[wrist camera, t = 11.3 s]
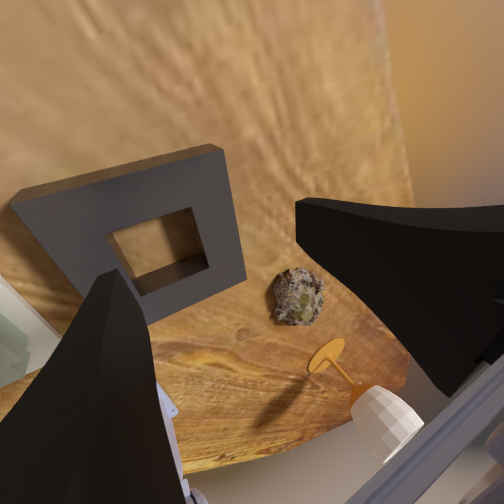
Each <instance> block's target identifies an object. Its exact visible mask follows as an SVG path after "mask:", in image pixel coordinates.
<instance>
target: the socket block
mask: <svg viewBox="0 0 504 504" xmlns="http://www.w3.org/2000/svg"><path fill="white" fill-rule="evenodd" d="M9 205H10V207H11V208H12V209H13V210H14V212H15V213H16V214H17V215H18V217H19V218H20V219H21V220H22V222H23V223H24V224H25V225H26V227H27V228H28V229H29V230H30V232H31V233H32V234H33V236H34V237H35V238H36V239H37V241H38V242H39V243H40V244H41V246H42V247H43V248H44V249H45V251H46V252H47V253H48V254H49V256H50V257H51V258H52V259H53V261H54V262H55V263H56V265H57V266H58V267H59V268H60V270H61V271H62V272H63V273H64V275H65V276H66V277H67V278H68V280H69V281H70V282H71V283H72V285H73V286H74V287H75V288H76V290H77V291H78V292H79V294H80V295H81V296H82V297H83V299H84V300H85V298H86V296H87V294H88V293H89V291H90V289H91V287H92V285H93V283H94V281H95V280H96V278H97V276H99V275H101V274H104V273H107V272H109V271H112V270H115V269H117V268H118V270H119V272H120V273H121V275H122V277H123V278H124V280H125V282H126V283H127V285H128V287H129V288H130V290H131V292H132V293H133V295H134V297H135V298H136V300H137V302H138V303H139V305H140V307H141V308H142V311H143V314H144V317H145V321H146V324H147V326H148V325H150V324H152V323H154V322H156V321H159V320H161V319H163V318H165V317H167V316H169V315H172V314H174V313H176V312H178V311H180V310H182V309H184V308H187V307H189V306H191V305H193V304H195V303H197V302H200V301H202V300H204V299H206V298H208V297H210V296H213V295H215V294H217V293H219V292H221V291H223V290H225V289H228V288H230V287H232V286H234V285H236V284H238V283H241V282H243V281H245V280H247V276H246V271H245V265H244V260H243V254H242V249H241V243H240V238H239V232H238V227H237V221H236V216H235V210H234V205H233V199H232V194H231V188H230V183H229V177H228V172H227V166H226V161H225V155H224V150H223V149H222V148H219V147H217V146H215V145H212V144H210V143H209V144H205V145H201V146H197V147H193V148H189V149H185V150H181V151H177V152H173V153H169V154H165V155H160V156H156V157H152V158H148V159H144V160H140V161H136V162H132V163H128V164H124V165H120V166H116V167H111V168H107V169H103V170H99V171H95V172H91V173H87V174H83V175H79V176H75V177H71V178H67V179H63V180H58V181H54V182H50V183H46V184H42V185H38V186H34V187H30V188H26V189H22V190H20V191H19V193H18V194H17V195H16V196H15V198H14V199H13V200H12V202H11V203H10V204H9ZM185 208H186V210H187V213H188V216H189V219H190V223H191V226H192V229H193V232H194V235H195V239H196V242H197V245H198V248H199V251H200V253H198V254H196V255H193V256H191V257H188V258H186V259H183V260H180V261H178V262H175V263H173V264H170V265H168V266H165V267H163V268H160V269H158V270H155V271H153V272H150V273H148V274H145V275H143V276H140V277H138V278H136V276H135V274H134V273H133V271H132V269H131V267H130V265H129V264H128V262H127V260H126V258H125V256H124V255H123V253H122V251H121V249H120V247H119V246H118V244H117V242H116V240H115V238H114V237H113V235H112V233H111V232H114V231H117V230H120V229H123V228H126V227H129V226H132V225H135V224H139V223H142V222H145V221H148V220H151V219H154V218H157V217H160V216H163V215H166V214H169V213H172V212H175V211H178V210H181V209H185Z"/></svg>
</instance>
